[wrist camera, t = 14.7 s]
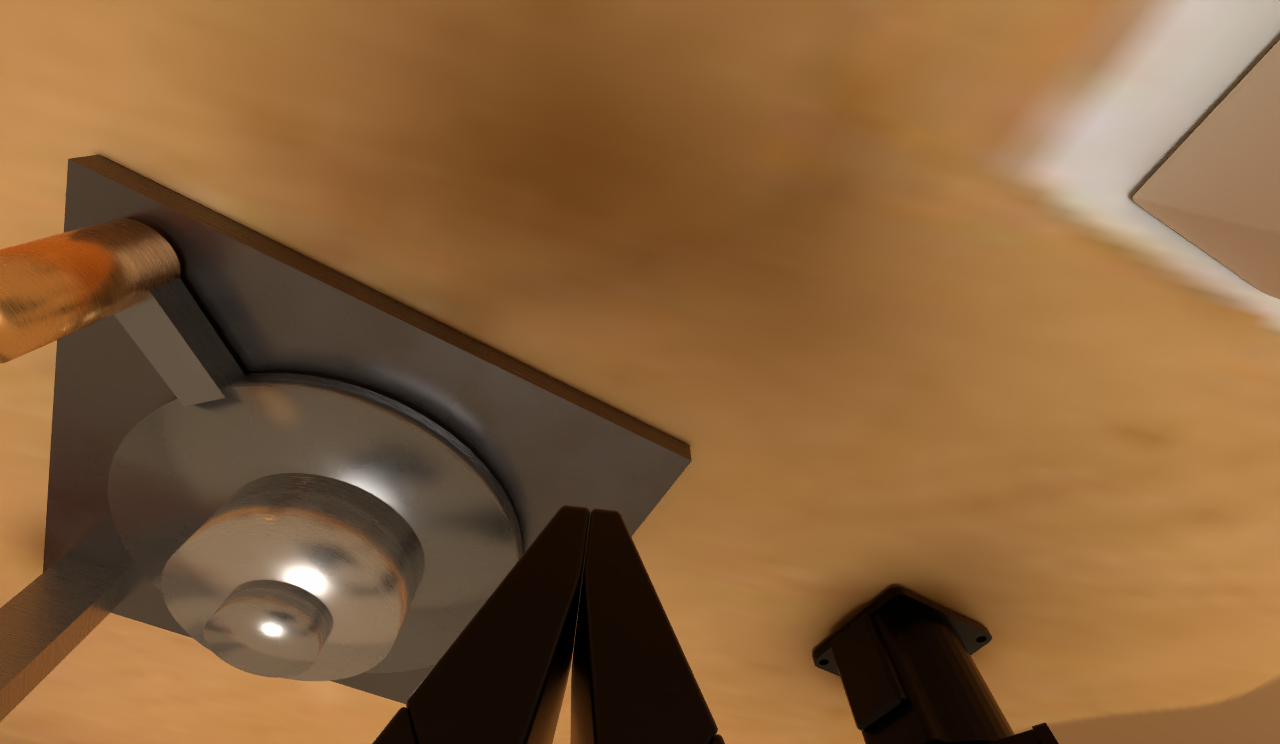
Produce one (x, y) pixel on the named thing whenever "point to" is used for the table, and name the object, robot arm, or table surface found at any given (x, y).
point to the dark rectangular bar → (50, 623)
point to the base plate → (328, 348)
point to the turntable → (256, 429)
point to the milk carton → (1229, 180)
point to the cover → (297, 578)
